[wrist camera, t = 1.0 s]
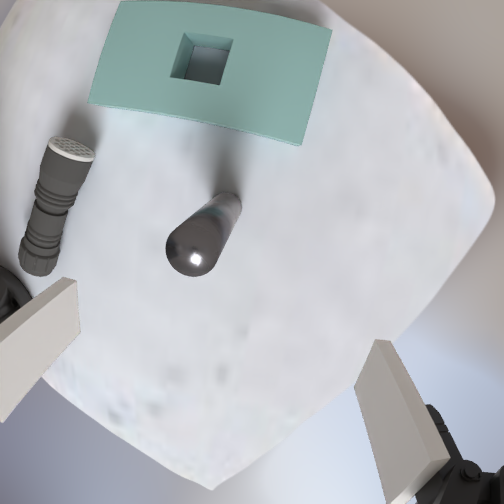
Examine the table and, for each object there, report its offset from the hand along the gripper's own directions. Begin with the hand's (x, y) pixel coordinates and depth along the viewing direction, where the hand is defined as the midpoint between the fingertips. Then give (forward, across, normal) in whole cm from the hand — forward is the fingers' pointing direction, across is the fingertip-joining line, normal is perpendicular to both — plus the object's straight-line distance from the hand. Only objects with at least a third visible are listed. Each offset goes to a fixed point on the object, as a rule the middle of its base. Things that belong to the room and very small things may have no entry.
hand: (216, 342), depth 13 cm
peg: (+19, -2, +2) cm, 20 cm away
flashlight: (+20, -22, -1) cm, 29 cm away
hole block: (+20, -6, +15) cm, 25 cm away
